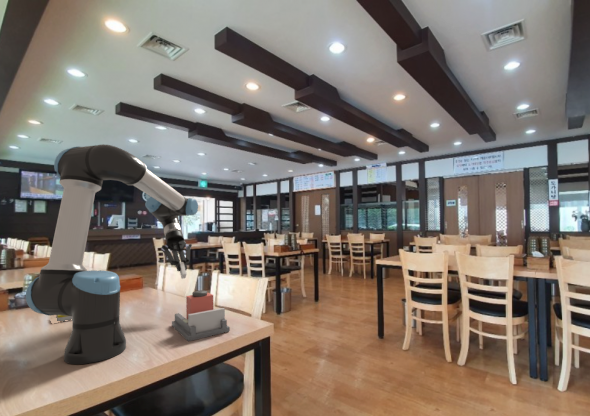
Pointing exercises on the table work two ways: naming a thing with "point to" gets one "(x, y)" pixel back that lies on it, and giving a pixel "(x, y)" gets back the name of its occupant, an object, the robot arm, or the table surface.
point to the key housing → (201, 324)
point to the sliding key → (199, 302)
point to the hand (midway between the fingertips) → (184, 276)
